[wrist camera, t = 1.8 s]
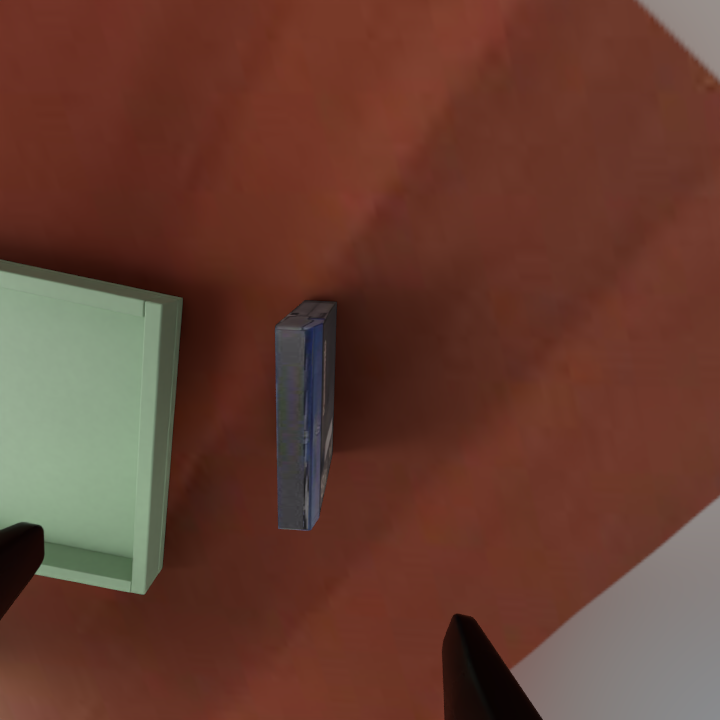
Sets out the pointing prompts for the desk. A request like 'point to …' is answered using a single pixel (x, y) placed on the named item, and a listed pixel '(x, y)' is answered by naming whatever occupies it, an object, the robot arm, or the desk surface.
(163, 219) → the desk surface
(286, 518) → the mini dv tape
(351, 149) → the desk surface
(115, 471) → the tray
